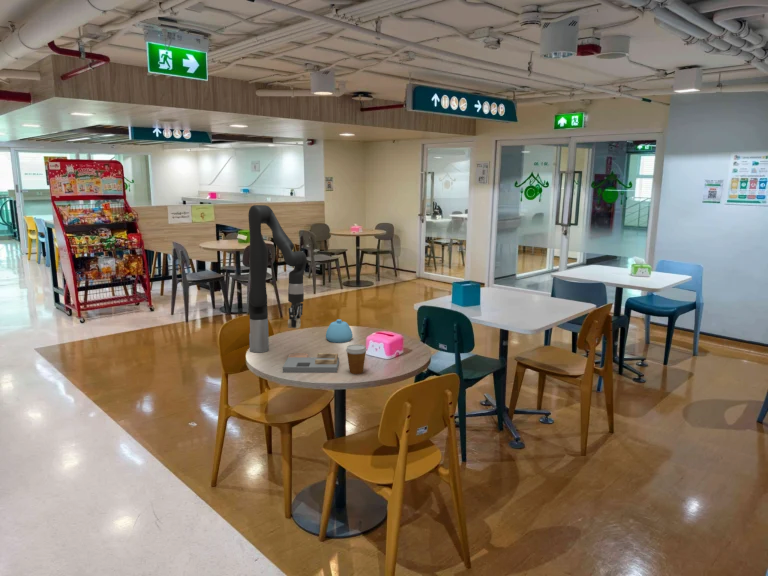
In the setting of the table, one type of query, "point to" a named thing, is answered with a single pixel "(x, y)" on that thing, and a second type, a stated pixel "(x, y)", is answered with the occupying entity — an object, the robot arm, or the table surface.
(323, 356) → the frame
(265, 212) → the robot arm
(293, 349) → the table surface
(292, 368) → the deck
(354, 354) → the disposable coffee cup
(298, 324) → the block
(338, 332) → the sugar bowl
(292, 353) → the saucer
